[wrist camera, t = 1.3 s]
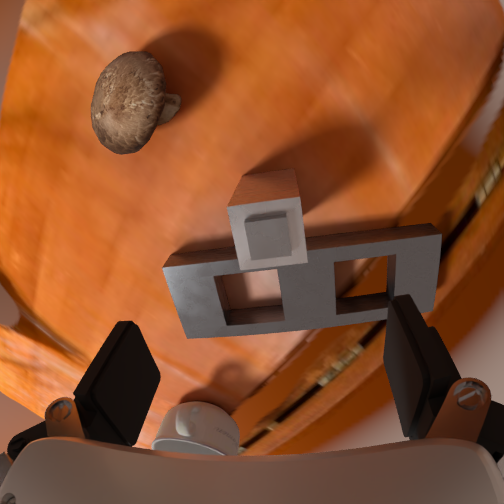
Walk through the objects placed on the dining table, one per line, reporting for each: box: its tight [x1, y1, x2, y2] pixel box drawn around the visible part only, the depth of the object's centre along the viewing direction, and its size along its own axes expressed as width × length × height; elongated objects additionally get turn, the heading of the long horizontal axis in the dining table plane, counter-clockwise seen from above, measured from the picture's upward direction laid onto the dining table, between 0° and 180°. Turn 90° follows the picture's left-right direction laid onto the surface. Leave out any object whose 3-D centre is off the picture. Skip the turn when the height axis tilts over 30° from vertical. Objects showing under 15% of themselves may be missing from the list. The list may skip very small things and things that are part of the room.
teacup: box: [152, 401, 240, 456], centre depth 36 cm, size 14×11×8 cm
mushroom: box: [91, 52, 181, 154], centre depth 21 cm, size 8×8×6 cm
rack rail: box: [162, 223, 442, 339], centre depth 28 cm, size 24×8×2 cm, turn 100°
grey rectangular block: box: [227, 168, 308, 270], centre depth 22 cm, size 4×4×9 cm
